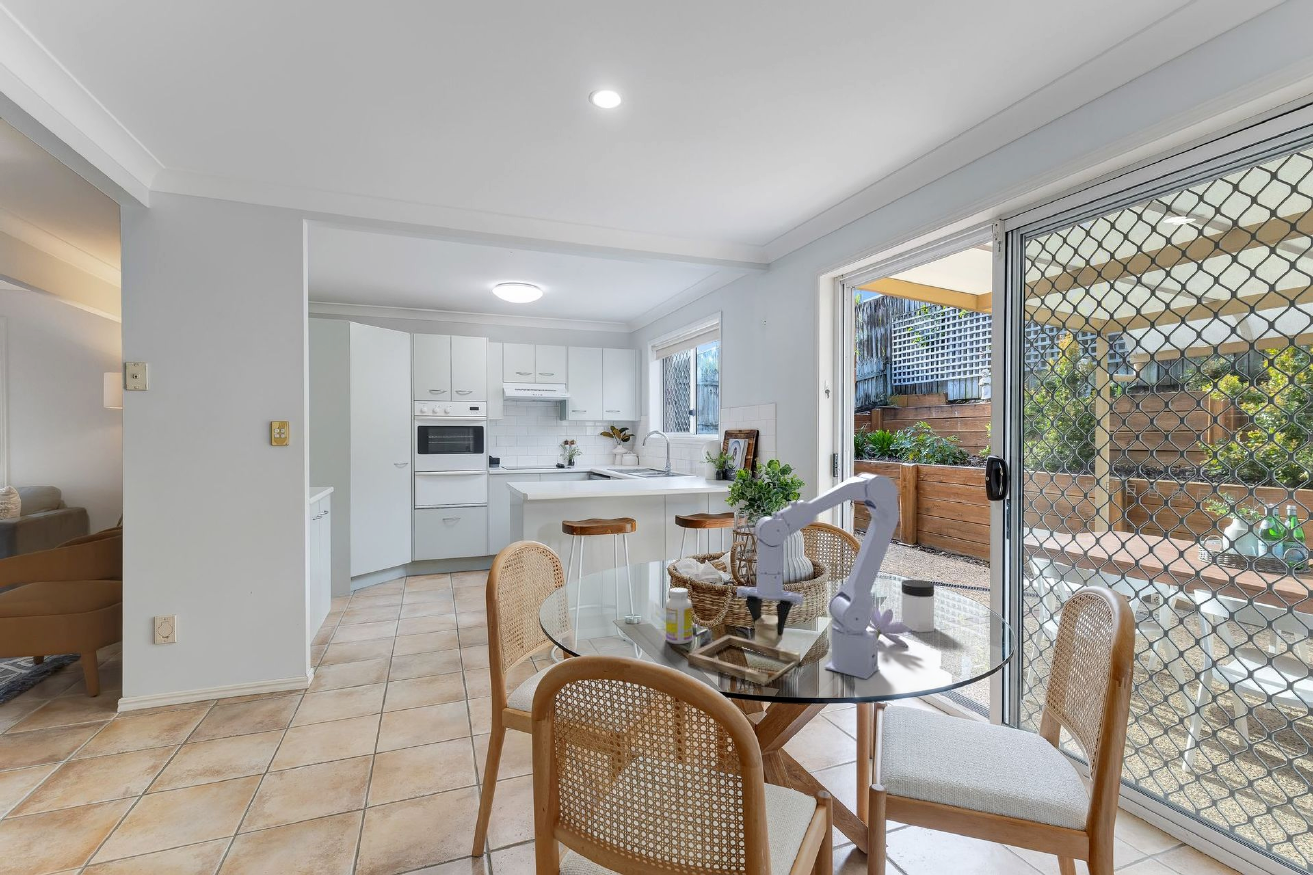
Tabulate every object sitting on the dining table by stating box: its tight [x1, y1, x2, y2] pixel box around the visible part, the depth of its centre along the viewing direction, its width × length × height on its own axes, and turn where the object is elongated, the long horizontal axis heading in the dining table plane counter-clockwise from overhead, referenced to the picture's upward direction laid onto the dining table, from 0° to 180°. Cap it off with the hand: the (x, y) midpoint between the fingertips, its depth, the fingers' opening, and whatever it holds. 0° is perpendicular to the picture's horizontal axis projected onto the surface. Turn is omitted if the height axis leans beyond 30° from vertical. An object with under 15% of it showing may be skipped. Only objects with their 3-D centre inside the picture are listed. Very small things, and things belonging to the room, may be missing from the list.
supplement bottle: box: [665, 587, 693, 645], centre depth 152 cm, size 7×7×13 cm
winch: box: [692, 626, 713, 647], centre depth 148 cm, size 7×3×5 cm, turn 141°
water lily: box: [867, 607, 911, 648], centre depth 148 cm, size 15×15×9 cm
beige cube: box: [753, 613, 783, 648], centre depth 134 cm, size 5×6×5 cm
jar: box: [900, 579, 935, 633], centre depth 163 cm, size 9×8×12 cm
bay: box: [687, 634, 801, 685], centre depth 138 cm, size 20×17×2 cm
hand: (769, 632), depth 134 cm, fingers closed on beige cube, 4 cm apart
